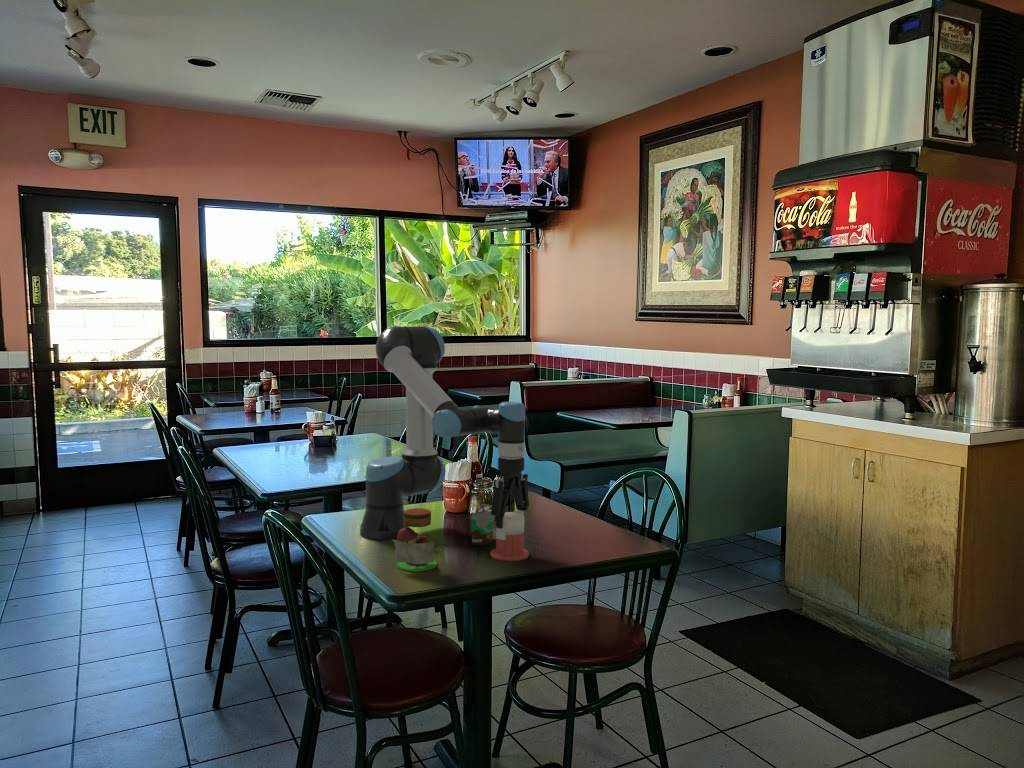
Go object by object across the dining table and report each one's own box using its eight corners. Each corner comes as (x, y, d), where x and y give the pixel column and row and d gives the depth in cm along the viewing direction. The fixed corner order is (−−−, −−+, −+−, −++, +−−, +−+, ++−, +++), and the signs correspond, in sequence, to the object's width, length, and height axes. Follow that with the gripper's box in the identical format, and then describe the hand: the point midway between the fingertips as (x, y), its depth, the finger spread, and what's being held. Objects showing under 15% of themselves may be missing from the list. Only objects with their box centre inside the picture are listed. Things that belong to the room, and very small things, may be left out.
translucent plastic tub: (393, 559, 209) (393, 506, 208) (439, 558, 210) (439, 506, 209) (389, 573, 197) (389, 517, 196) (437, 572, 198) (438, 517, 197)
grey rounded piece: (490, 540, 213) (490, 516, 212) (506, 534, 219) (507, 510, 219) (513, 545, 208) (513, 520, 208) (529, 539, 215) (529, 515, 214)
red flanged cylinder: (482, 556, 213) (483, 532, 212) (505, 547, 222) (505, 524, 221) (514, 563, 206) (514, 538, 206) (536, 554, 215) (536, 530, 215)
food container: (491, 547, 221) (491, 514, 220) (470, 546, 222) (471, 512, 222) (500, 536, 233) (500, 504, 233) (480, 534, 235) (481, 503, 234)
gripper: (500, 463, 201) (498, 546, 203) (542, 453, 218) (540, 530, 220) (478, 460, 206) (477, 541, 207) (521, 450, 223) (520, 525, 224)
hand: (510, 535), depth 214 cm, fingers closed on grey rounded piece, 8 cm apart
